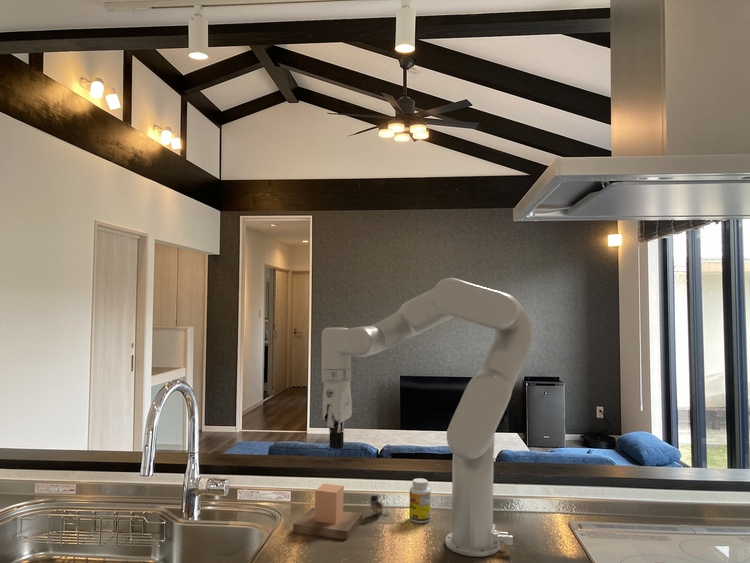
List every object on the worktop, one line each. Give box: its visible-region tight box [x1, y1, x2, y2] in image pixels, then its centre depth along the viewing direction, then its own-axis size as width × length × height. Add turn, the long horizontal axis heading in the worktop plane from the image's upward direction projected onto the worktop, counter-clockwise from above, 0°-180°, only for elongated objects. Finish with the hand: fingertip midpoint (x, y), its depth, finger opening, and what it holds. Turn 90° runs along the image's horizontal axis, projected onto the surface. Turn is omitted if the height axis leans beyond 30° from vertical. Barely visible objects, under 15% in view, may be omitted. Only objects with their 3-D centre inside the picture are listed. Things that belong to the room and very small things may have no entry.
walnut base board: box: [292, 507, 363, 540], centre depth 140 cm, size 14×12×2 cm
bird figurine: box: [369, 495, 391, 516], centre depth 147 cm, size 5×5×6 cm
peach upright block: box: [314, 483, 345, 524], centre depth 140 cm, size 6×6×8 cm
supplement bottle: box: [408, 478, 432, 524], centre depth 145 cm, size 6×6×10 cm
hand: (336, 447), depth 141 cm, fingers closed
